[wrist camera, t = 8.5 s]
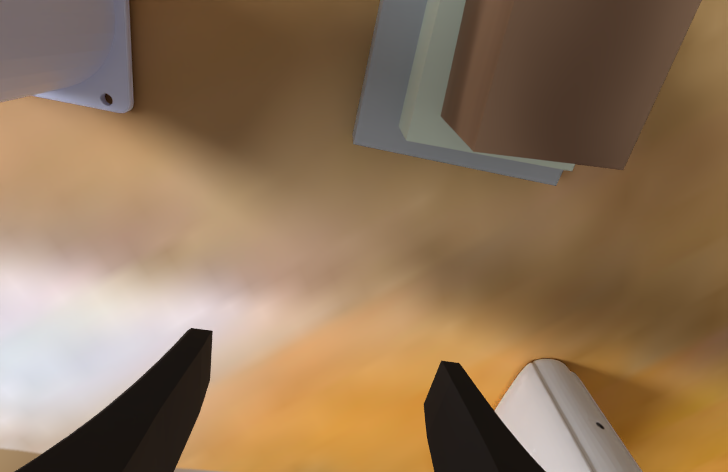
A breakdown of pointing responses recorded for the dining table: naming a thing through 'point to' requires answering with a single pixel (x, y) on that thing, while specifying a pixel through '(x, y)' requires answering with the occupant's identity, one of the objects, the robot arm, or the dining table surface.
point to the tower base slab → (388, 91)
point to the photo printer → (561, 422)
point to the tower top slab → (440, 83)
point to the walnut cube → (561, 75)
